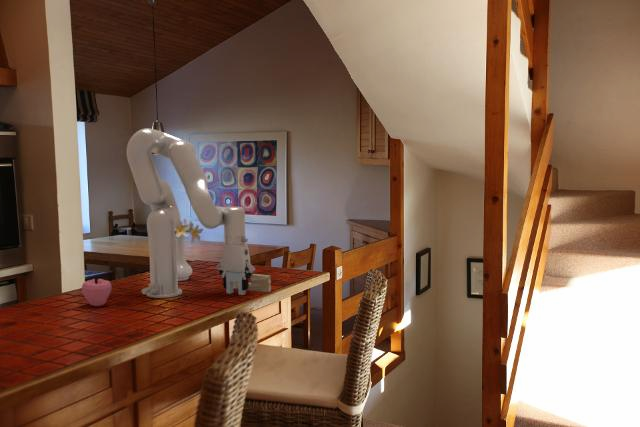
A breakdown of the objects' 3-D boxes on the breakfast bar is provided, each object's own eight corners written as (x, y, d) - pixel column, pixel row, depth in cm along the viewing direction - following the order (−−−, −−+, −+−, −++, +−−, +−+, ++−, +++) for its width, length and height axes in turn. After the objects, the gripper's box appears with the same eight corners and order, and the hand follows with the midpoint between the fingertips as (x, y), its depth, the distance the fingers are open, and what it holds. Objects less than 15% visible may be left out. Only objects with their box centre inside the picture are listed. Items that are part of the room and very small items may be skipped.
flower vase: (194, 284, 231) (192, 220, 228) (154, 281, 237) (152, 219, 234) (210, 277, 243) (209, 217, 241) (172, 275, 249) (170, 216, 246)
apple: (117, 304, 199) (116, 275, 198) (96, 310, 192) (94, 280, 191) (98, 301, 204) (97, 272, 203) (77, 306, 197) (75, 277, 196)
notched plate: (242, 294, 212) (242, 273, 211) (226, 293, 215) (225, 271, 214) (245, 293, 214) (245, 272, 213) (229, 292, 217) (229, 270, 216)
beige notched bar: (268, 292, 215) (267, 276, 215) (227, 288, 223) (226, 272, 223) (270, 291, 217) (270, 275, 216) (230, 287, 225) (229, 271, 224)
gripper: (260, 240, 212) (261, 288, 214) (221, 238, 220) (222, 284, 221) (249, 243, 205) (250, 293, 207) (209, 240, 213) (210, 288, 214)
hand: (235, 288), depth 214 cm, fingers open, 7 cm apart
